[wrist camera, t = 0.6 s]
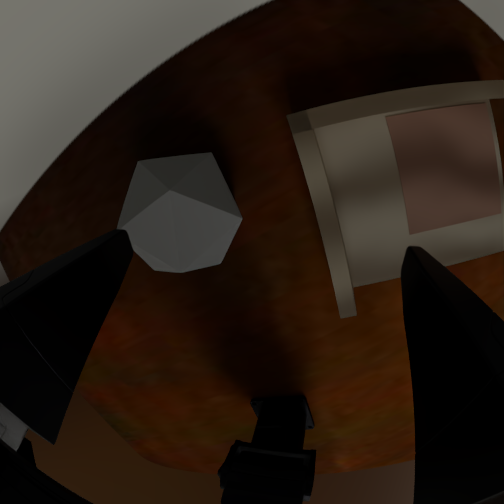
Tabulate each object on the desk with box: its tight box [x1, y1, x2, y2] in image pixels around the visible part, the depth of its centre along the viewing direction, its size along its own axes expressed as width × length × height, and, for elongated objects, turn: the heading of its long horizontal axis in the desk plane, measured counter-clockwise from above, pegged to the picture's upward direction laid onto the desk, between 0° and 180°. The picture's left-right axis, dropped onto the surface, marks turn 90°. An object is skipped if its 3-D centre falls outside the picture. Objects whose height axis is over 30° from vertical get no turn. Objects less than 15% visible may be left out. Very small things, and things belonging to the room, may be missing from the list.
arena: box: [286, 80, 504, 318], centre depth 18 cm, size 14×16×4 cm
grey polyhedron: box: [117, 152, 243, 273], centre depth 21 cm, size 8×9×10 cm
